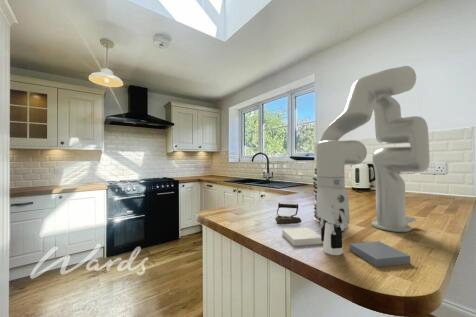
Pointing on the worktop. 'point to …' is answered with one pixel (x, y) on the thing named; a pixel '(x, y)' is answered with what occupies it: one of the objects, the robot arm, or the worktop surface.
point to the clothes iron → (287, 218)
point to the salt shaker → (327, 241)
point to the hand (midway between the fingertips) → (331, 243)
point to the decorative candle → (315, 194)
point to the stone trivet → (301, 236)
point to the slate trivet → (379, 254)
